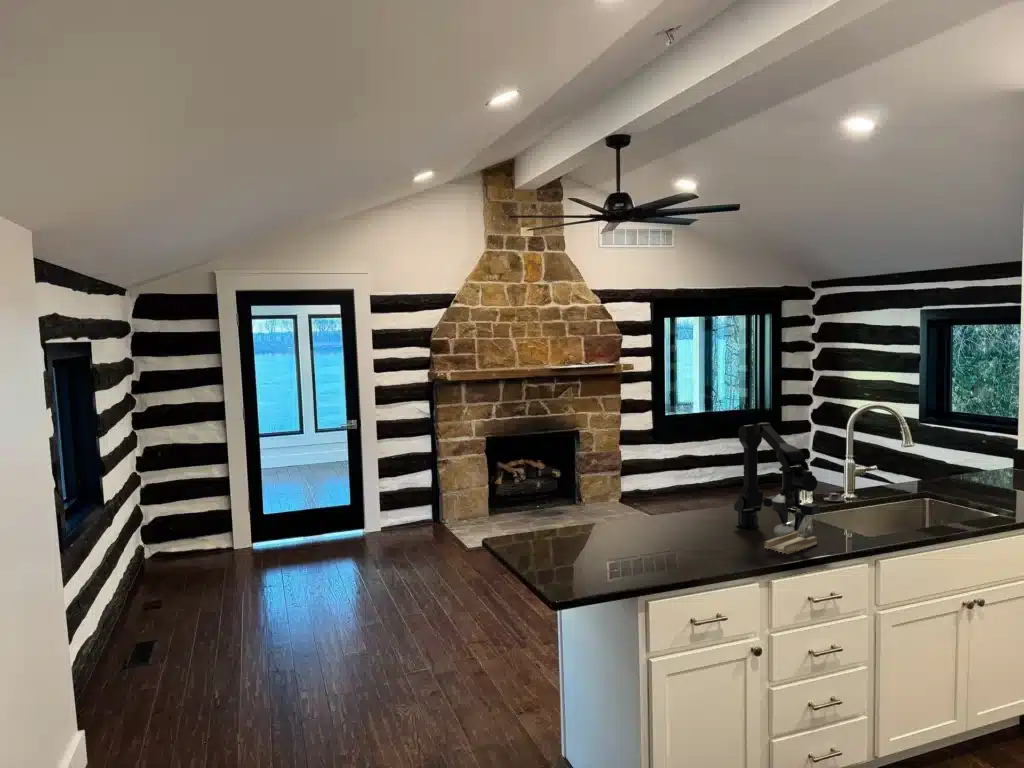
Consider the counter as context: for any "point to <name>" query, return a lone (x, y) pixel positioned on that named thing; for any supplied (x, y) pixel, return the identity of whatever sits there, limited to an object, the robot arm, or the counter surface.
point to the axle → (788, 528)
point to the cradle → (790, 543)
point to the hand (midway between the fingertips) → (790, 529)
